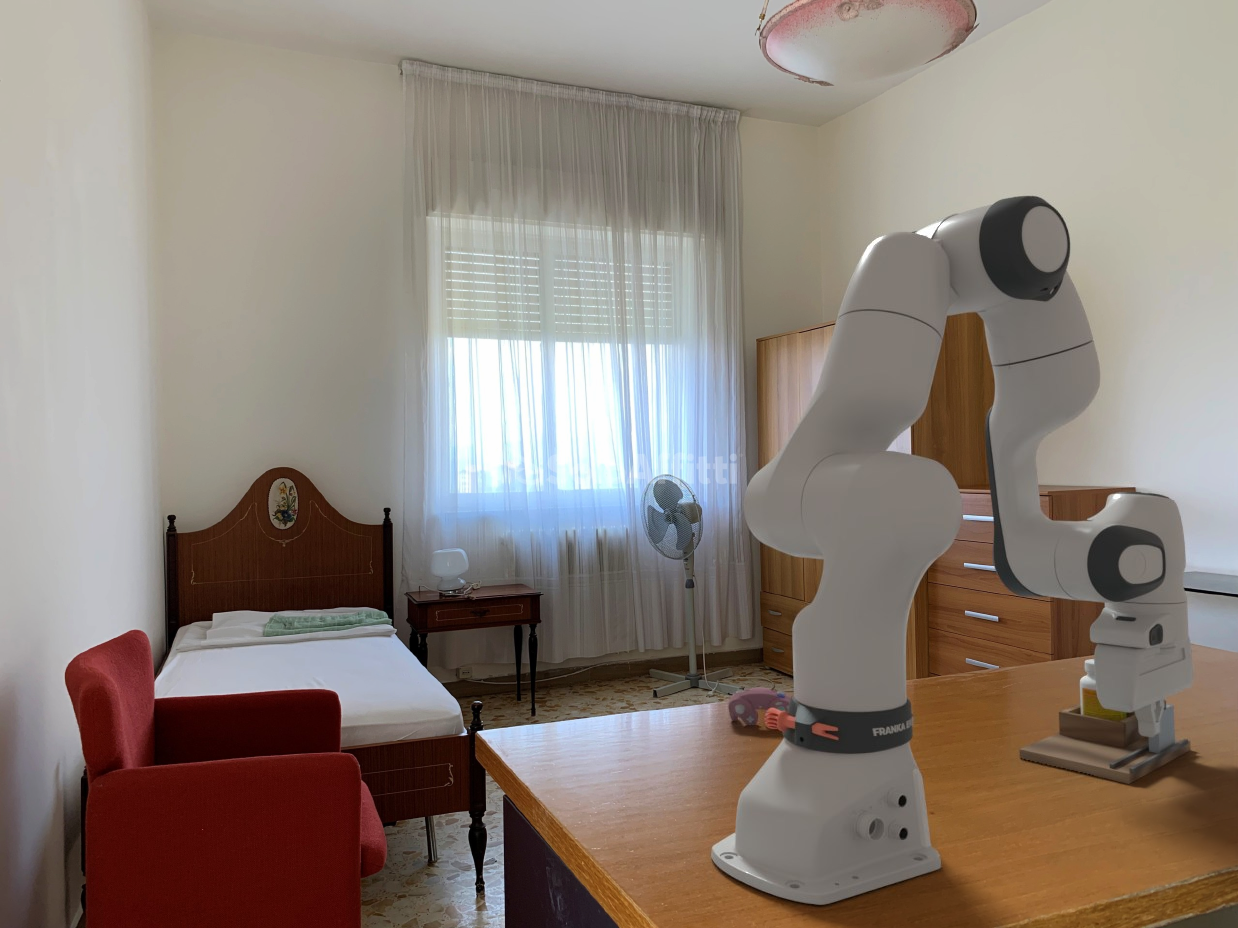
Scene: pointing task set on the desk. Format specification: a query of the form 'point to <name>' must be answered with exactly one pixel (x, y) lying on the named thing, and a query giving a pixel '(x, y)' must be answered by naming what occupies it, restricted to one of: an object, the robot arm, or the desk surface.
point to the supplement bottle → (1094, 697)
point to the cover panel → (1164, 731)
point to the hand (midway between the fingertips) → (1149, 735)
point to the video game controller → (756, 703)
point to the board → (1101, 747)
